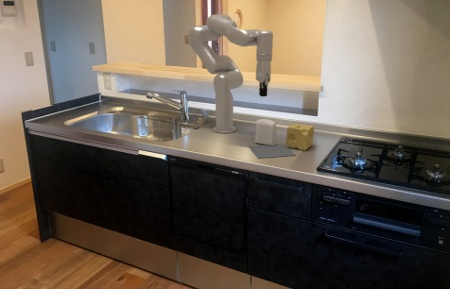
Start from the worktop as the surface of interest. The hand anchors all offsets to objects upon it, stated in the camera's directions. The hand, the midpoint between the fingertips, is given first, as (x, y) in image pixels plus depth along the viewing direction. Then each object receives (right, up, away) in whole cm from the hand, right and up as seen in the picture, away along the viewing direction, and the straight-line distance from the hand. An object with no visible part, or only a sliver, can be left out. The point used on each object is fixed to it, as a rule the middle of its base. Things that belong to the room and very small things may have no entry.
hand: (263, 95), depth 197 cm
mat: (+3, -27, -8) cm, 28 cm away
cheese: (+17, -25, -1) cm, 30 cm away
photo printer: (+1, -24, +2) cm, 24 cm away
